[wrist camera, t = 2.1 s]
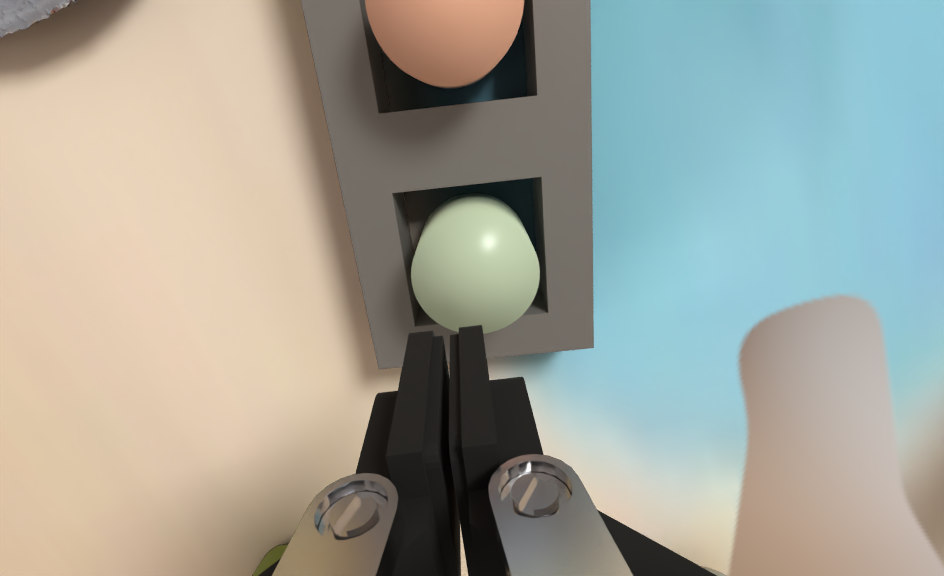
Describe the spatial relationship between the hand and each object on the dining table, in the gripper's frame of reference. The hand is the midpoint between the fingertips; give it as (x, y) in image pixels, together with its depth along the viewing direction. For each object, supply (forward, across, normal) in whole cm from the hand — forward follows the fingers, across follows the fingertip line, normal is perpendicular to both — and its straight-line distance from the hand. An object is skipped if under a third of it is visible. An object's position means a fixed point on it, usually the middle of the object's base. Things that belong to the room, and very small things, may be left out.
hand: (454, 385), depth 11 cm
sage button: (+11, -1, 0) cm, 11 cm away
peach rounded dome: (+11, -1, -9) cm, 14 cm away
